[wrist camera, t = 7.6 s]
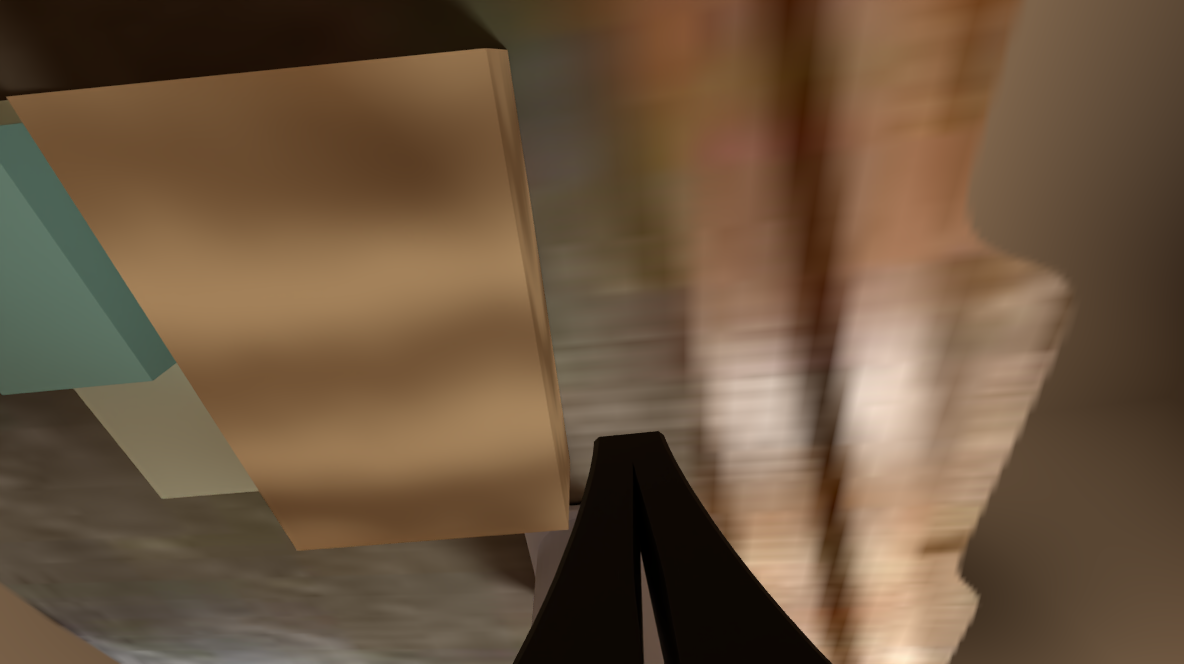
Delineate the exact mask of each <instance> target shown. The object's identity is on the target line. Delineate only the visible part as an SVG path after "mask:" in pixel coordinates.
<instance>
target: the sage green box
mask: <svg viewBox="0 0 1184 664" xmlns="http://www.w3.org/2000/svg"><path fill="white" fill-rule="evenodd" d="M176 363H177V362H176V361H175V359H174V358H173V356H172V355H171V353H170V352H169V350H168V348H167V347H166V345H165V344H164V342H163V341H162V339H161V338H160V336H159V334H158V333H157V331H156V330H155V328H154V327H153V325H152V324H151V322H150V320H149V319H148V317H147V316H146V314H145V313H144V311H143V309H142V308H141V306H140V305H139V303H138V302H137V300H136V299H135V297H134V295H133V294H132V292H131V291H130V289H129V288H128V286H127V285H126V283H125V281H124V280H123V278H122V277H121V275H120V274H119V272H118V271H117V269H116V267H115V266H114V264H113V263H112V261H111V260H110V258H109V257H108V255H107V253H106V252H105V250H104V249H103V247H102V246H101V244H100V243H99V241H98V239H97V238H96V236H95V235H94V233H93V232H92V230H91V228H90V227H89V225H88V224H87V222H86V221H85V219H84V218H83V216H82V214H81V213H80V211H79V210H78V208H77V207H76V205H75V204H74V202H73V200H72V199H71V197H70V196H69V194H68V193H67V191H66V190H65V188H64V186H63V185H62V183H61V182H60V180H59V179H58V177H57V176H56V174H55V172H54V171H53V169H52V168H51V166H50V165H49V163H48V162H47V160H46V158H45V157H44V155H43V154H42V152H41V151H40V149H39V148H38V146H37V144H36V143H35V141H34V140H33V138H32V137H31V135H30V133H29V132H28V130H27V129H26V127H25V126H24V124H23V123H15V124H6V125H0V393H1V394H2V395H9V394H19V393H30V392H41V391H51V390H62V389H73V388H83V387H94V386H105V385H115V384H126V383H136V382H147V381H153V380H155V379H156V378H157V377H159V376H160V375H161V374H163V373H164V372H165V371H166V370H168V369H169V368H170V367H172V366H173V365H174V364H176Z"/></svg>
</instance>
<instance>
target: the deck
mask: <svg viewBox="0 0 1184 664" xmlns="http://www.w3.org/2000/svg"><path fill="white" fill-rule="evenodd" d="M6 98H7V99H8V101H9V102H10V104H11V105H12V107H13V109H14V110H15V112H16V113H17V115H18V116H19V118H20V119H21V121H22V123H23V124H24V126H25V127H26V129H27V130H28V132H29V133H30V135H31V137H32V138H33V140H34V141H35V143H36V144H37V146H38V148H39V149H40V151H41V152H42V154H43V155H44V157H45V158H46V160H47V162H48V163H49V165H50V166H51V168H52V169H53V171H54V172H55V174H56V176H57V177H58V179H59V180H60V182H61V183H62V185H63V186H64V188H65V190H66V191H67V193H68V194H69V196H70V197H71V199H72V200H73V202H74V204H75V205H76V207H77V208H78V210H79V211H80V213H81V214H82V216H83V218H84V219H85V221H86V222H87V224H88V225H89V227H90V228H91V230H92V232H93V233H94V235H95V236H96V238H97V239H98V241H99V243H100V244H101V246H102V247H103V249H104V250H105V252H106V253H107V255H108V257H109V258H110V260H111V261H112V263H113V264H114V266H115V267H116V269H117V271H118V272H119V274H120V275H121V277H122V278H123V280H124V281H125V283H126V285H127V286H128V288H129V289H130V291H131V292H132V294H133V295H134V297H135V299H136V300H137V302H138V303H139V305H140V306H141V308H142V309H143V311H144V313H145V314H146V316H147V317H148V319H149V320H150V322H151V324H152V325H153V327H154V328H155V330H156V331H157V333H158V334H159V336H160V338H161V339H162V341H163V342H164V344H165V345H166V347H167V348H168V350H169V352H170V353H171V355H172V356H173V358H174V359H175V361H176V362H177V364H178V366H179V367H180V369H181V370H182V372H183V373H184V375H185V376H186V378H187V380H188V381H189V383H190V384H191V386H192V387H193V389H194V390H195V392H196V394H197V395H198V397H199V398H200V400H201V401H202V403H203V405H204V406H205V408H206V409H207V411H208V412H209V414H210V415H211V417H212V419H213V420H214V422H215V423H216V425H217V426H218V428H219V429H220V431H221V433H222V434H223V436H224V437H225V439H226V440H227V442H228V443H229V445H230V447H231V448H232V450H233V451H234V453H235V454H236V456H237V457H238V459H239V461H240V462H241V464H242V465H243V467H244V468H245V470H246V471H247V473H248V475H249V476H250V478H251V479H252V481H253V482H254V484H255V486H256V487H257V489H258V490H259V492H260V493H261V495H262V496H263V498H264V500H265V501H266V503H267V504H268V506H269V507H270V509H271V510H272V512H273V514H274V515H275V517H276V518H277V520H278V521H279V523H280V524H281V526H282V528H283V529H284V531H285V532H286V534H287V535H288V537H289V538H290V540H291V542H292V543H293V545H294V546H295V548H296V549H297V551H301V550H314V549H327V548H340V547H352V546H365V545H378V544H391V543H404V542H417V541H430V540H443V539H455V538H468V537H481V536H494V535H507V534H520V533H533V532H545V531H558V530H569V488H570V458H569V451H568V445H567V438H566V432H565V425H564V418H563V412H562V405H561V399H560V392H559V386H558V379H557V372H556V366H555V359H554V353H553V346H552V340H551V333H550V326H549V320H548V313H547V307H546V300H545V294H544V287H543V280H542V274H541V267H540V261H539V254H538V248H537V241H536V234H535V228H534V221H533V215H532V208H531V202H530V195H529V188H528V182H527V175H526V169H525V162H524V156H523V149H522V142H521V136H520V129H519V123H518V116H517V110H516V103H515V96H514V90H513V83H512V77H511V70H510V64H509V57H508V50H503V49H490V48H482V49H472V50H463V51H453V52H443V53H433V54H423V55H413V56H403V57H393V58H383V59H374V60H364V61H354V62H344V63H334V64H324V65H314V66H304V67H294V68H285V69H275V70H265V71H255V72H245V73H235V74H225V75H215V76H205V77H196V78H186V79H176V80H166V81H156V82H146V83H136V84H126V85H116V86H107V87H97V88H87V89H77V90H67V91H57V92H47V93H37V94H27V95H18V96H8V97H6Z"/></svg>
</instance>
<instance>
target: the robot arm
mask: <svg viewBox="0 0 1184 664" xmlns="http://www.w3.org/2000/svg"><path fill="white" fill-rule="evenodd" d="M525 537H526V541H527V545H528V549H529V553H530V558H531V562H532V566H533V570H534V574H535V590H534V603H533V615H532V627H531V629H530V631H529V633H528V635H527V637H526V639H525V641H524V643H523V645H522V647H521V649H520V651H519V653H518V654H517V656H516V658H515V660H514V662H513V664H832V663H831V662H830V661H829V660H828V659H827V658H826V657H825V656H824V655H823V654H822V653H821V652H820V651H819V650H818V649H817V647H816V646H815V645H814V644H813V643H812V642H811V641H810V640H809V639H808V638H807V636H806V635H805V634H804V633H803V632H802V631H801V630H800V629H799V628H798V626H797V625H796V624H795V623H794V622H793V621H792V620H791V619H790V618H789V616H788V615H787V614H786V613H785V612H784V611H783V610H782V608H781V607H780V606H779V605H778V604H777V602H776V601H775V600H774V599H773V598H772V597H771V595H770V594H769V593H768V592H767V591H766V590H765V588H764V587H763V586H762V585H761V583H760V582H759V581H758V580H757V579H756V577H755V576H754V575H753V574H752V572H751V571H750V570H749V569H748V567H747V566H746V565H745V563H744V562H743V561H742V560H741V558H740V557H739V556H738V554H737V553H736V552H735V550H734V549H733V548H732V546H731V545H730V544H729V542H728V541H727V540H726V538H725V537H724V535H723V534H722V533H721V531H720V530H719V528H718V527H717V526H716V524H715V523H714V521H713V520H712V518H711V517H710V515H709V514H708V512H707V511H706V509H705V508H704V506H703V505H702V503H701V502H700V500H699V499H698V497H697V496H696V494H695V493H694V491H693V489H692V488H691V486H690V485H689V483H688V481H687V480H686V478H685V476H684V474H683V473H682V471H681V469H680V468H679V466H678V464H677V462H676V460H675V458H674V456H673V454H672V452H671V450H670V448H669V446H668V444H667V442H666V439H665V437H664V435H663V434H662V433H660V432H659V431H656V432H645V433H635V434H625V435H614V436H604V437H599V438H598V439H596V440H595V441H594V449H593V456H592V462H591V467H590V472H589V476H588V480H587V484H586V488H585V492H584V495H583V498H582V501H581V505H572V506H569V530H558V531H545V532H533V533H525Z"/></svg>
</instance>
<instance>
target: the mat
mask: <svg viewBox="0 0 1184 664" xmlns="http://www.w3.org/2000/svg"><path fill="white" fill-rule="evenodd" d="M15 123H22V121H21V119H20V118H19V116H18V115H17V113H16V112H15V110H14V109H13V107H12V105H11V104H10V102H9V101H8V100H4V101H0V125H6V124H15ZM73 389H74V390H75V391H76V392H77V394H78V395H79V396H80V397H81V399H82V400H83V401H84V402H85V404H86V405H87V406H88V407H89V409H90V410H91V411H92V412H93V414H94V415H95V416H96V417H97V419H98V420H99V421H100V422H101V424H102V425H103V426H104V427H105V428H106V430H107V431H108V432H109V433H110V435H111V436H112V437H113V438H114V440H115V441H116V442H117V443H118V445H119V446H120V447H121V448H122V450H123V451H124V452H125V453H126V455H127V456H128V457H129V458H130V460H131V461H132V462H133V463H134V465H135V466H136V467H137V468H138V470H139V471H140V472H141V473H142V475H143V476H144V477H145V478H146V480H147V481H148V482H149V483H150V485H151V486H152V487H153V488H154V490H155V491H156V492H157V493H158V495H159V496H160V497H161V498H162V499H166V498H178V497H191V496H203V495H216V494H228V493H240V492H253V491H259V490H258V489H257V487H256V486H255V484H254V482H253V481H252V479H251V478H250V476H249V475H248V473H247V471H246V470H245V468H244V467H243V465H242V464H241V462H240V461H239V459H238V457H237V456H236V454H235V453H234V451H233V450H232V448H231V447H230V445H229V443H228V442H227V440H226V439H225V437H224V436H223V434H222V433H221V431H220V429H219V428H218V426H217V425H216V423H215V422H214V420H213V419H212V417H211V415H210V414H209V412H208V411H207V409H206V408H205V406H204V405H203V403H202V401H201V400H200V398H199V397H198V395H197V394H196V392H195V390H194V389H193V387H192V386H191V384H190V383H189V381H188V380H187V378H186V376H185V375H184V373H183V372H182V370H181V369H180V367H179V366H178V364H177V363H176V364H174V365H173V366H172V367H170V368H169V369H168V370H166V371H165V372H164V373H163V374H161V375H160V376H159V377H157V378H156V379H155V380H153V381H147V382H136V383H126V384H115V385H105V386H94V387H83V388H73Z"/></svg>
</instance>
